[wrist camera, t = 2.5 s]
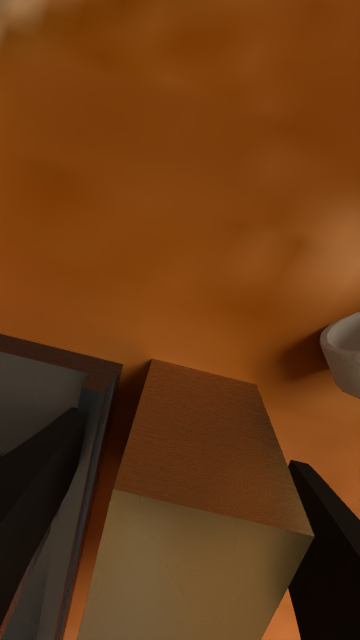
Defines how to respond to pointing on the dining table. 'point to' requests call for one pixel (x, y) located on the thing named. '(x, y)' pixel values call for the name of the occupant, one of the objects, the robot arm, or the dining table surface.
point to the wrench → (344, 352)
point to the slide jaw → (23, 582)
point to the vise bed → (74, 512)
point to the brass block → (196, 517)
